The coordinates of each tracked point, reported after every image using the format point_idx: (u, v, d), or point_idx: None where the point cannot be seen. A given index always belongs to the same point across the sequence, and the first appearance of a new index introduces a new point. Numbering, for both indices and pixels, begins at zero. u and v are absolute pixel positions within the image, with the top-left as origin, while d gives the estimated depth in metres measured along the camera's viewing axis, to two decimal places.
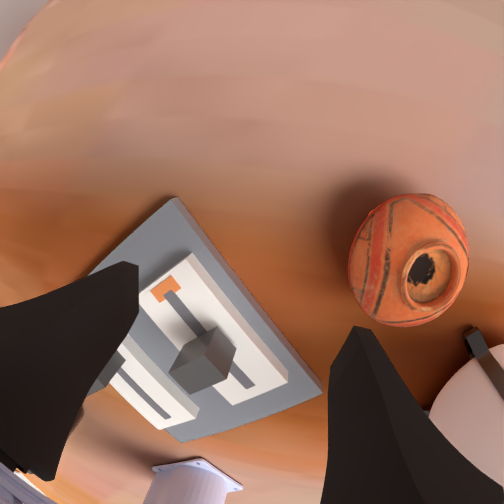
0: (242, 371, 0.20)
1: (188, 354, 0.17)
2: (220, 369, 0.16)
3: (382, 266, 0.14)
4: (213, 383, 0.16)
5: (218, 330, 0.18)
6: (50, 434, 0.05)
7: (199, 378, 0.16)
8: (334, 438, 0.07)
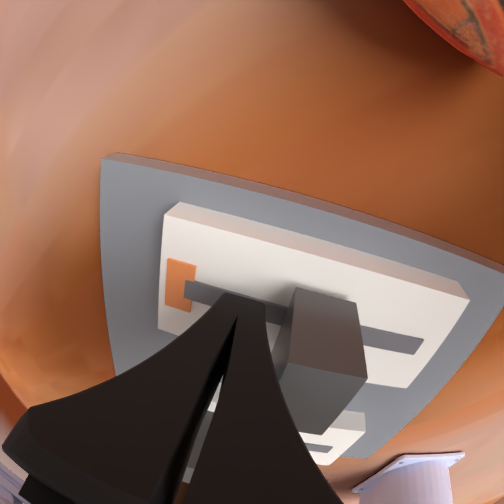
0: (391, 332, 0.10)
1: None
2: (343, 368, 0.07)
3: None
4: (348, 399, 0.07)
5: (302, 292, 0.09)
6: (175, 493, 0.05)
7: (316, 405, 0.07)
8: None
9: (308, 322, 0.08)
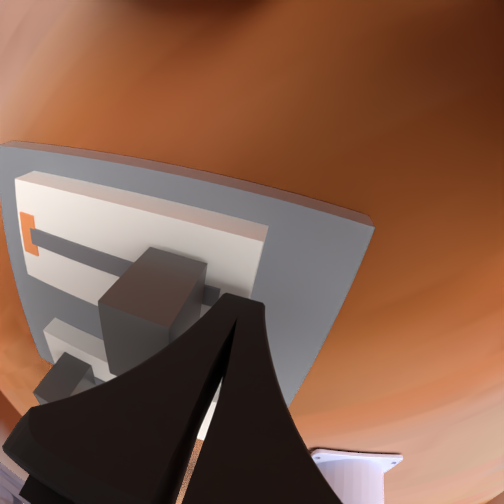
0: None
1: None
2: (147, 314, 0.07)
3: None
4: None
5: (152, 251, 0.09)
6: (176, 494, 0.05)
7: (141, 356, 0.07)
8: None
9: (139, 274, 0.08)
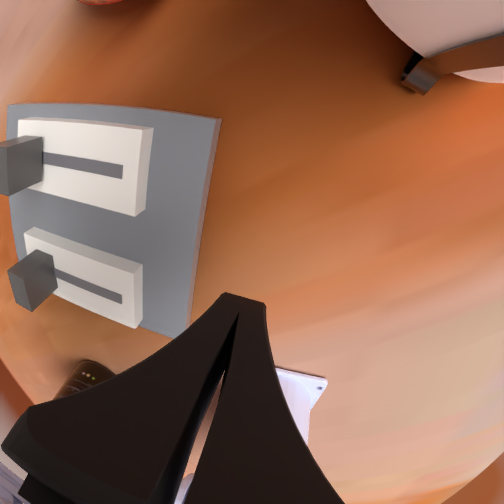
0: (102, 162, 0.15)
1: None
2: (3, 146, 0.12)
3: None
4: (6, 163, 0.12)
5: (24, 136, 0.14)
6: (175, 493, 0.05)
7: (0, 170, 0.13)
8: None
9: (12, 140, 0.13)
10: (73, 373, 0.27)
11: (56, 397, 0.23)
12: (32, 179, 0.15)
